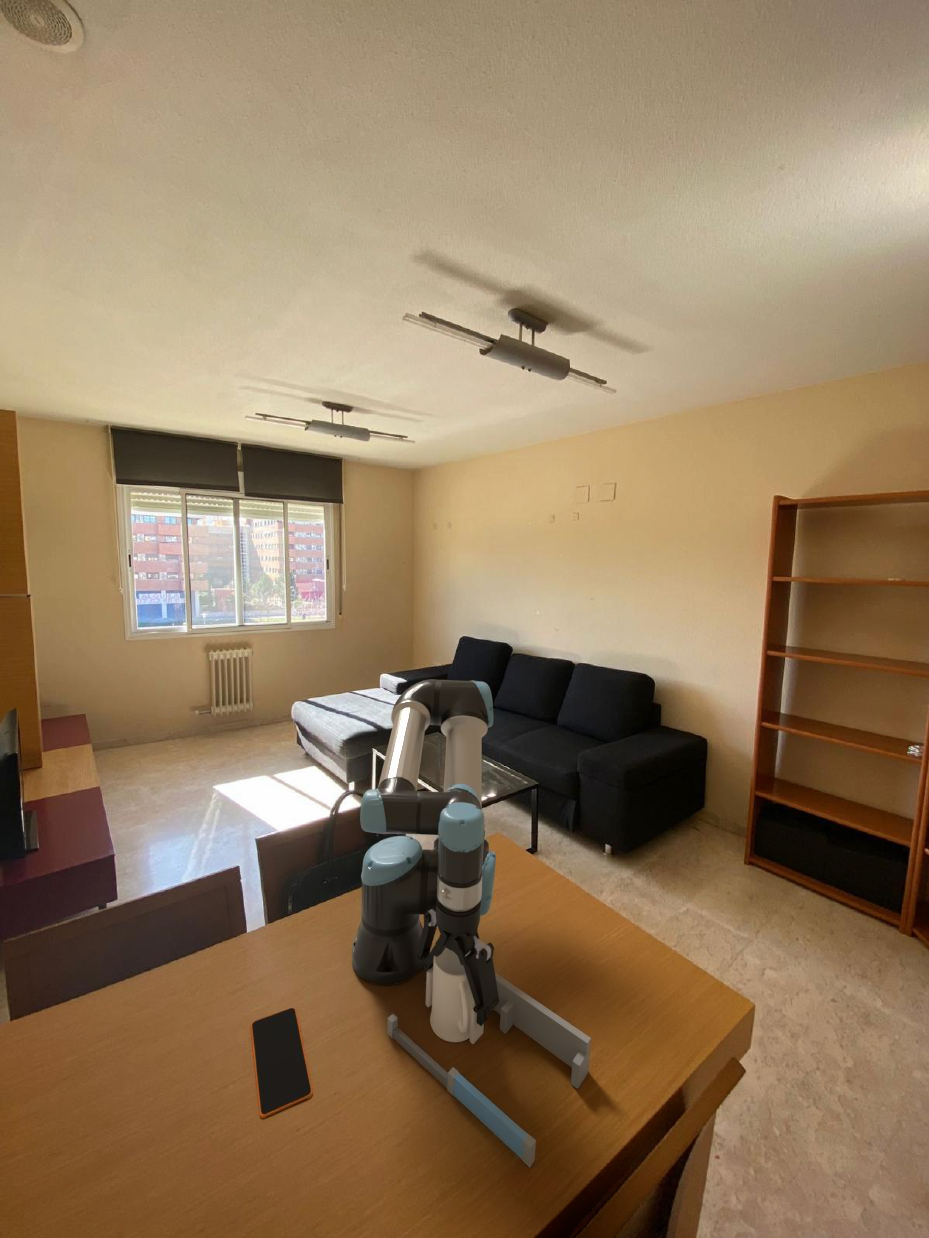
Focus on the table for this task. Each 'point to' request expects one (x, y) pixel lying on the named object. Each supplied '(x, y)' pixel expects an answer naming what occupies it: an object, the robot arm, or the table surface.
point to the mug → (450, 998)
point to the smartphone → (279, 1062)
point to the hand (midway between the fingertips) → (453, 1018)
